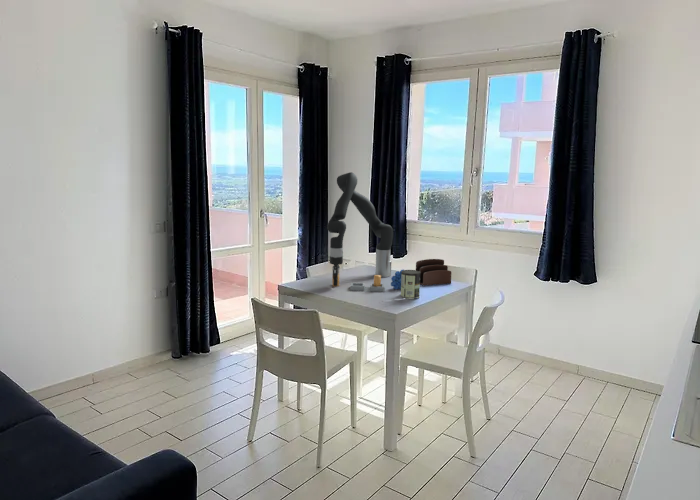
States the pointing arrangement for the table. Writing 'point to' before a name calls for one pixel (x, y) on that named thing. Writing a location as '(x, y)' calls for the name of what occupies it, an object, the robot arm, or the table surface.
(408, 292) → the coffee can
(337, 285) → the loose jaw peg
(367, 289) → the grey peg socket base
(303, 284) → the table surface
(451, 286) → the table surface
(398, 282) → the grapes
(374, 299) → the table surface
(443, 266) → the letter holder
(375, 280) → the seated jaw peg
